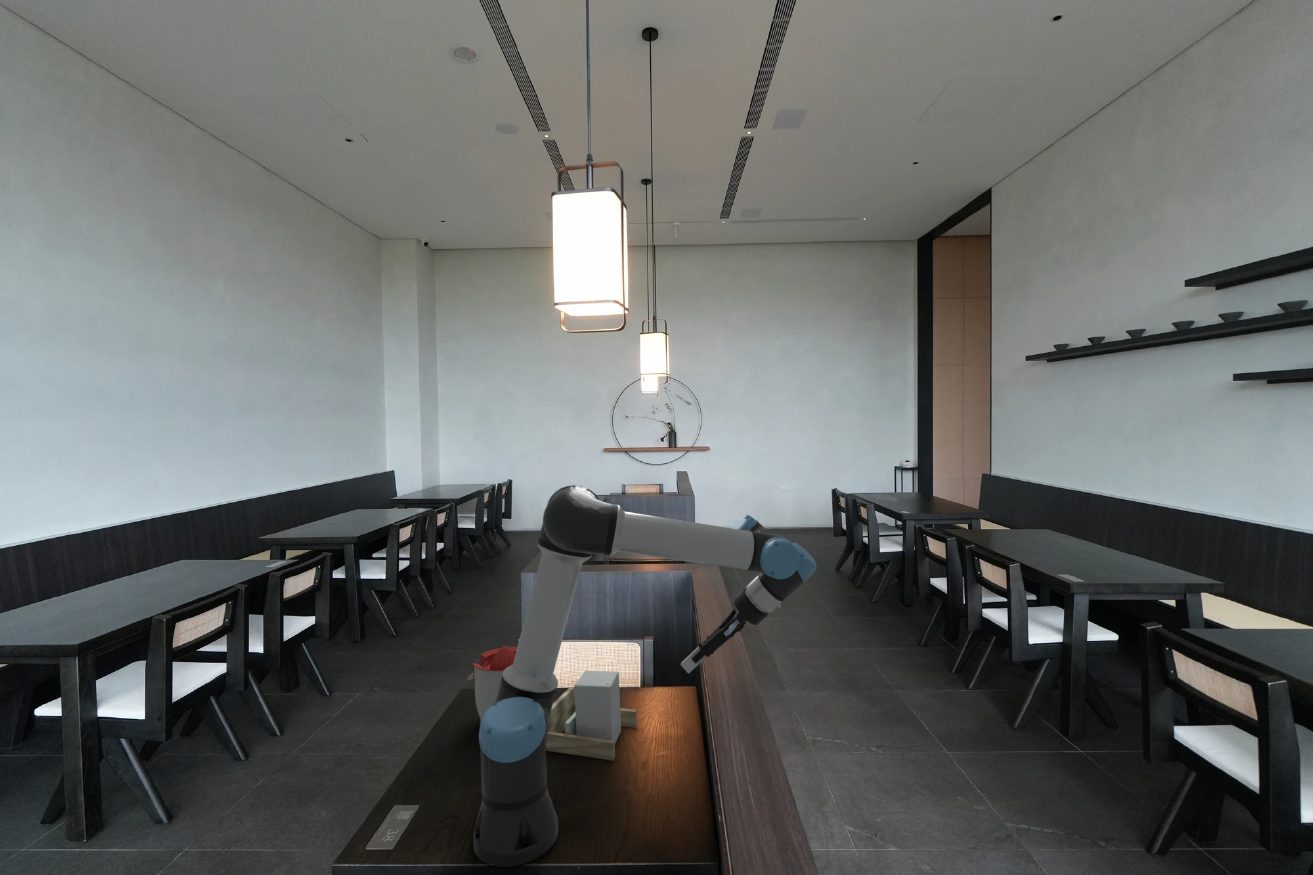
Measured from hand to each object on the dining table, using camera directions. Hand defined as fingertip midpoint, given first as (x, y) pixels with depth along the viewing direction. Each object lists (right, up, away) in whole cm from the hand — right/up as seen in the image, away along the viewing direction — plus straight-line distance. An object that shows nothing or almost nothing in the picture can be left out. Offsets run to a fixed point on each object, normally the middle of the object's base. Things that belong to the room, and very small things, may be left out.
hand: (685, 667), depth 135 cm
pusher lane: (-23, -20, +8) cm, 31 cm away
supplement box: (-20, -20, +7) cm, 29 cm away
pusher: (-25, -20, +8) cm, 33 cm away
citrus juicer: (-46, -21, +16) cm, 53 cm away
